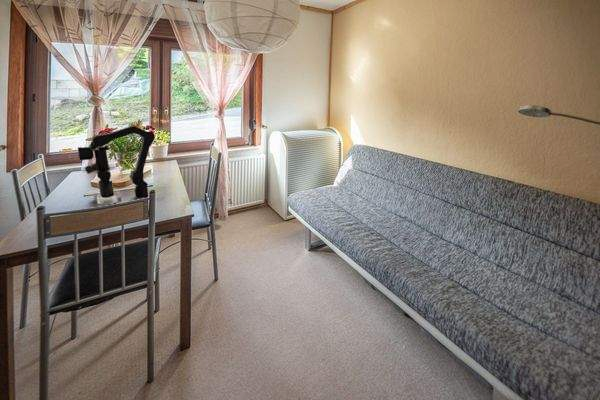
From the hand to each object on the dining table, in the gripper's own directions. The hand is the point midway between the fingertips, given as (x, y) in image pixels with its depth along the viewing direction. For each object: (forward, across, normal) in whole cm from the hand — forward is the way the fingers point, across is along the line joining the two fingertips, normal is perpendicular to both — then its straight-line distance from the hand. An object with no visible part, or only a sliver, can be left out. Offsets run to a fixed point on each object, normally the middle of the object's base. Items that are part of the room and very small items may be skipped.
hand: (106, 186), depth 189 cm
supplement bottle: (+6, 0, 0) cm, 6 cm away
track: (+9, 0, 0) cm, 9 cm away
